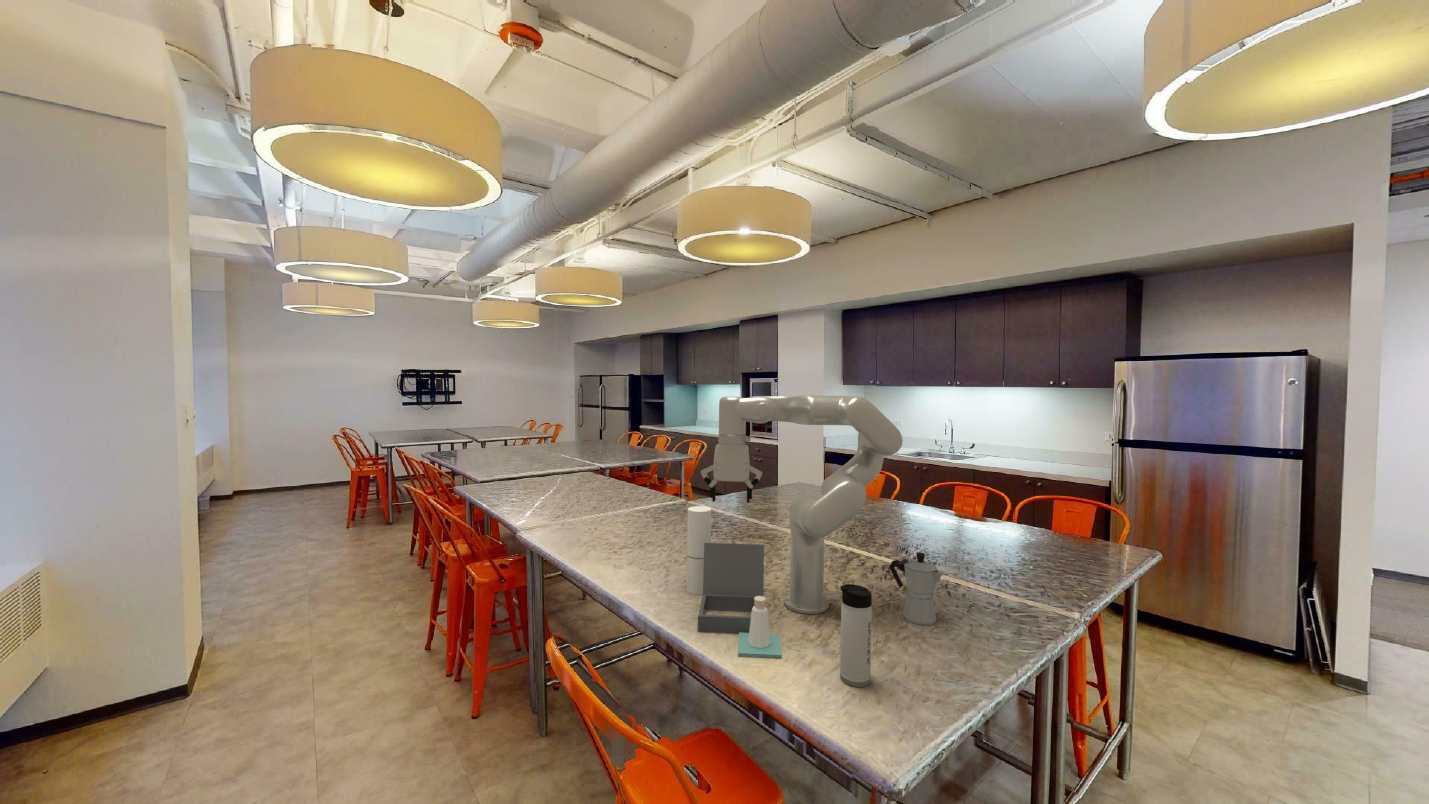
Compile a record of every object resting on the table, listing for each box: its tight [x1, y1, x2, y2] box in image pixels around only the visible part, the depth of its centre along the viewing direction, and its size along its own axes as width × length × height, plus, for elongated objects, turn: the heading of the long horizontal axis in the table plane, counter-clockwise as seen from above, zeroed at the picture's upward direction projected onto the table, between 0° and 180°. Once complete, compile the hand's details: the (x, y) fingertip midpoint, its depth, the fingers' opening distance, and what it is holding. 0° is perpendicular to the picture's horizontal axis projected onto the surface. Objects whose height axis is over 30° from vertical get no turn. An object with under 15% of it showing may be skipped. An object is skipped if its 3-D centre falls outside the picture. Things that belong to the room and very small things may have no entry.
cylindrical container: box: [686, 505, 712, 595], centre depth 156 cm, size 7×7×25 cm
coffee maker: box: [888, 551, 945, 626], centre depth 139 cm, size 15×9×18 cm, turn 47°
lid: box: [702, 542, 765, 597], centre depth 144 cm, size 17×14×1 cm
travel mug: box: [839, 583, 873, 688], centre depth 108 cm, size 6×7×20 cm
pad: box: [737, 632, 783, 660], centre depth 122 cm, size 10×10×1 cm
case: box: [697, 594, 756, 635], centre depth 135 cm, size 17×14×4 cm
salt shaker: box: [748, 595, 771, 648], centre depth 122 cm, size 5×5×11 cm
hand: (731, 501), depth 143 cm, fingers open, 9 cm apart
